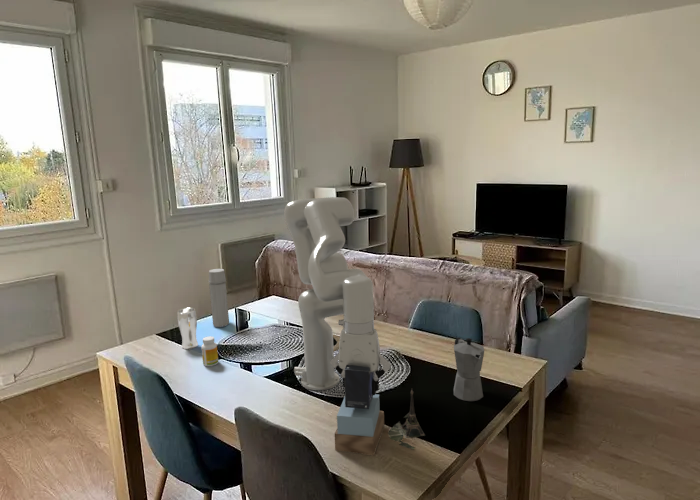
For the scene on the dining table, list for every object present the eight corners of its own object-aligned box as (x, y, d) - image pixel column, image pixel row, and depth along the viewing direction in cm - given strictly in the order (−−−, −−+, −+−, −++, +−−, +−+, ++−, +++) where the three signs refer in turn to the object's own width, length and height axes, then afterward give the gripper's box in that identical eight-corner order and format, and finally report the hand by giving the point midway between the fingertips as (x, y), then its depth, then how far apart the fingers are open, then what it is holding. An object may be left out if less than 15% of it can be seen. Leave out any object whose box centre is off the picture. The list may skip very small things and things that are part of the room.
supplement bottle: (221, 361, 178) (219, 336, 176) (211, 367, 173) (209, 342, 171) (210, 359, 180) (207, 334, 178) (200, 365, 175) (197, 340, 173)
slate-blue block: (337, 433, 122) (336, 415, 121) (347, 409, 133) (346, 392, 132) (373, 436, 120) (372, 418, 119) (379, 411, 132) (379, 394, 131)
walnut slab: (335, 451, 123) (334, 433, 122) (349, 423, 135) (348, 407, 134) (373, 456, 120) (373, 438, 119) (384, 427, 133) (383, 411, 132)
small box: (370, 410, 120) (369, 371, 118) (344, 408, 121) (342, 369, 119) (376, 389, 130) (375, 352, 128) (352, 387, 131) (351, 351, 129)
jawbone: (349, 338, 198) (349, 333, 198) (347, 360, 178) (348, 355, 178) (327, 337, 198) (327, 332, 198) (323, 358, 178) (323, 353, 178)
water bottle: (228, 327, 212) (223, 272, 207) (210, 328, 212) (204, 272, 207) (233, 320, 221) (228, 267, 216) (216, 320, 221) (211, 267, 216)
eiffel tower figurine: (408, 414, 139) (407, 370, 137) (440, 424, 134) (440, 379, 131) (380, 439, 128) (379, 392, 125) (414, 452, 122) (413, 403, 119)
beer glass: (177, 348, 191) (173, 312, 188) (189, 341, 198) (185, 306, 195) (191, 350, 189) (187, 313, 186) (202, 343, 195) (199, 308, 192)
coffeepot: (493, 402, 143) (494, 345, 139) (463, 407, 141) (464, 349, 137) (469, 379, 158) (469, 326, 154) (442, 383, 156) (442, 330, 152)
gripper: (321, 328, 120) (324, 395, 124) (390, 333, 116) (391, 402, 119) (330, 318, 127) (333, 381, 131) (395, 322, 123) (396, 387, 126)
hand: (361, 390), depth 125 cm, fingers closed on small box, 6 cm apart
